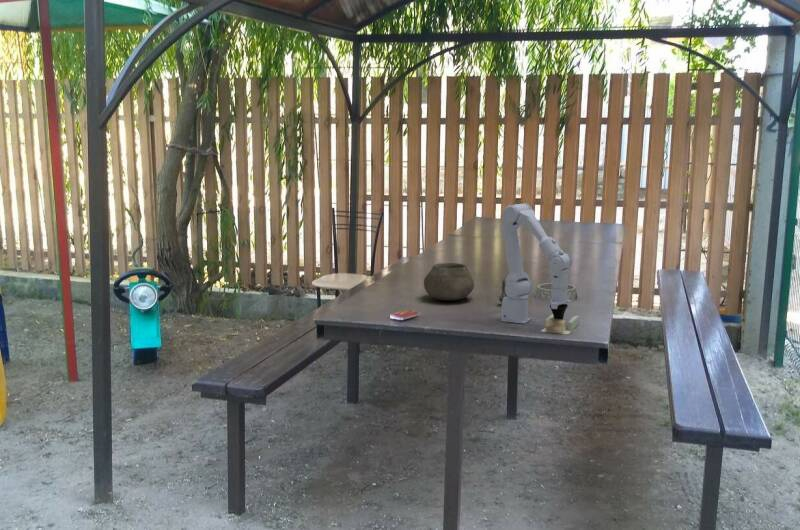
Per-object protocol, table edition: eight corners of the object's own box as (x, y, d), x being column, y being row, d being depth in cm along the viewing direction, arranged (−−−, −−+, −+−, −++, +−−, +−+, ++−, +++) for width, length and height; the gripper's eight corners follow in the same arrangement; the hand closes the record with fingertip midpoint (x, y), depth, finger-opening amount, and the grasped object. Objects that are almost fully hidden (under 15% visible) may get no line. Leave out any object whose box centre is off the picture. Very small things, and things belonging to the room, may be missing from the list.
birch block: (545, 331, 277) (546, 320, 276) (549, 328, 281) (549, 318, 280) (562, 333, 274) (562, 322, 274) (565, 330, 278) (565, 319, 278)
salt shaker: (510, 307, 314) (511, 278, 312) (496, 306, 316) (497, 277, 314) (514, 304, 320) (514, 275, 317) (500, 303, 322) (500, 274, 320)
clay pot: (415, 297, 334) (415, 262, 331) (458, 292, 343) (458, 259, 340) (438, 307, 315) (438, 271, 312) (483, 302, 323) (484, 267, 321)
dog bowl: (533, 301, 325) (533, 289, 324) (538, 292, 343) (538, 281, 342) (574, 304, 321) (575, 291, 320) (578, 295, 338) (578, 283, 337)
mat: (540, 331, 278) (540, 331, 278) (544, 328, 282) (544, 327, 282) (568, 334, 274) (568, 334, 274) (571, 331, 278) (571, 330, 278)
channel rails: (544, 327, 283) (545, 319, 282) (552, 321, 293) (552, 313, 292) (571, 330, 279) (571, 322, 278) (578, 323, 288) (578, 315, 288)
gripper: (565, 292, 270) (564, 330, 272) (575, 284, 283) (574, 320, 285) (545, 290, 273) (544, 328, 275) (556, 283, 286) (555, 318, 288)
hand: (558, 324), depth 280 cm, fingers closed
